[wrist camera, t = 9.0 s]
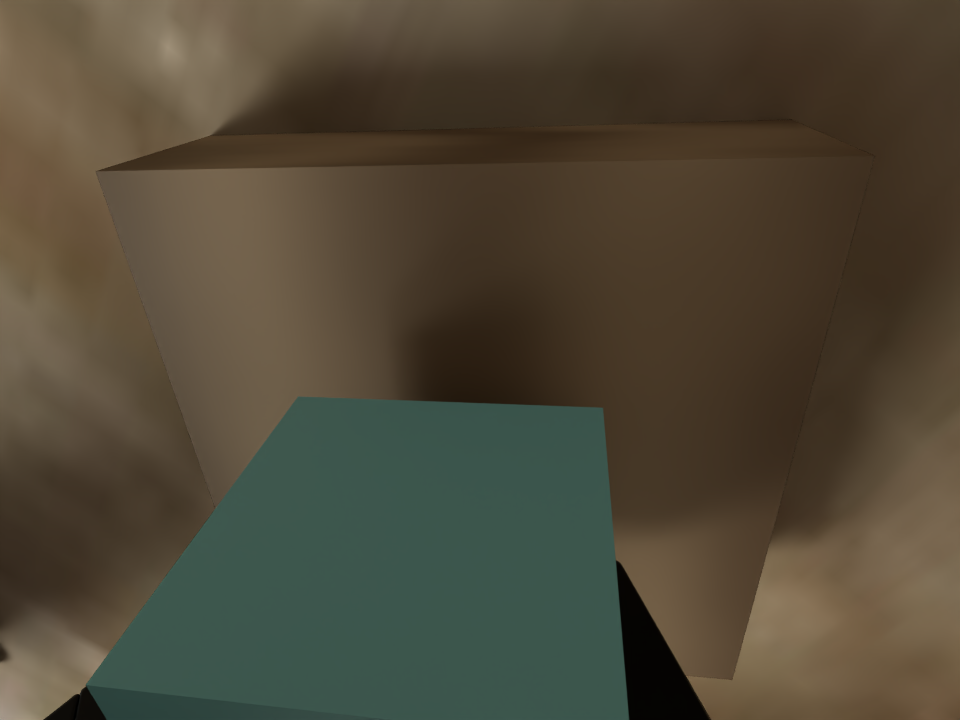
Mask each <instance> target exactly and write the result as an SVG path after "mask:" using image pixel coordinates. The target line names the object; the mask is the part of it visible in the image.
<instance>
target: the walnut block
mask: <svg viewBox="0 0 960 720" xmlns="http://www.w3.org/2000/svg"><path fill="white" fill-rule="evenodd" d="M874 158H875V156H874V155H871V154H869V153H867V152H864V151H862V150H860V149H858V148H855V147H853V146H851V145H848V144H846V143H844V142H842V141H839V140H837V139H835V138H832V137H830V136H828V135H826V134H823V133H821V132H819V131H816V130H814V129H812V128H810V127H807V126H805V125H803V124H800V123H798V122H796V121H794V120H758V121H722V122H686V123H650V124H614V125H578V126H543V127H507V128H471V129H435V130H399V131H363V132H327V133H292V134H256V135H220V136H208V137H205V138H201V139H198V140H195V141H192V142H188V143H185V144H182V145H179V146H176V147H172V148H169V149H166V150H163V151H159V152H156V153H153V154H150V155H147V156H143V157H140V158H137V159H134V160H131V161H127V162H124V163H121V164H118V165H114V166H111V167H108V168H105V169H102V170H98V171H96V174H97V177H98V180H99V182H100V185H101V188H102V191H103V194H104V197H105V199H106V202H107V205H108V208H109V211H110V213H111V216H112V219H113V222H114V225H115V228H116V230H117V233H118V236H119V239H120V242H121V244H122V247H123V250H124V253H125V256H126V259H127V261H128V264H129V267H130V270H131V273H132V275H133V278H134V281H135V284H136V287H137V290H138V292H139V295H140V298H141V301H142V304H143V306H144V309H145V312H146V315H147V318H148V321H149V323H150V326H151V329H152V332H153V335H154V337H155V340H156V343H157V346H158V349H159V352H160V354H161V357H162V360H163V363H164V366H165V368H166V371H167V374H168V377H169V380H170V383H171V385H172V388H173V391H174V394H175V397H176V399H177V402H178V405H179V408H180V411H181V414H182V416H183V419H184V422H185V425H186V428H187V430H188V433H189V436H190V439H191V442H192V445H193V447H194V450H195V453H196V456H197V459H198V461H199V464H200V467H201V470H202V473H203V476H204V478H205V481H206V484H207V487H208V490H209V492H210V495H211V498H212V501H213V504H214V507H215V509H216V507H217V506H218V505H219V503H220V502H221V501H222V499H223V498H224V496H225V495H226V494H227V492H228V491H229V490H230V488H231V487H232V486H233V484H234V483H235V481H236V480H237V479H238V477H239V476H240V475H241V473H242V472H243V471H244V469H245V468H246V467H247V465H248V464H249V462H250V461H251V460H252V458H253V457H254V456H255V454H256V453H257V452H258V450H259V449H260V448H261V446H262V445H263V443H264V442H265V441H266V439H267V438H268V437H269V435H270V434H271V433H272V431H273V430H274V429H275V427H276V426H277V424H278V423H279V422H280V420H281V419H282V418H283V416H284V415H285V414H286V412H287V411H288V409H289V408H290V407H291V405H292V404H293V403H294V401H295V400H296V399H297V397H298V396H299V397H326V398H353V399H380V400H407V401H434V402H462V403H489V404H516V405H543V406H570V407H597V408H603V414H604V426H605V438H606V450H607V462H608V474H609V486H610V498H611V510H612V522H613V534H614V546H615V558H616V561H619V562H620V563H621V564H622V566H623V567H624V569H625V571H626V573H627V574H628V576H629V578H630V580H631V581H632V583H633V585H634V586H635V588H636V590H637V592H638V593H639V595H640V597H641V599H642V600H643V602H644V604H645V606H646V607H647V609H648V611H649V613H650V614H651V616H652V618H653V620H654V621H655V623H656V625H657V627H658V628H659V630H660V632H661V633H662V635H663V637H664V639H665V640H666V642H667V644H668V646H669V647H670V649H671V651H672V653H673V654H674V656H675V658H676V660H677V661H678V663H679V665H680V667H681V668H682V670H683V672H684V674H685V675H686V676H697V677H707V678H717V679H728V680H732V679H733V676H734V672H735V668H736V665H737V661H738V657H739V654H740V650H741V646H742V643H743V639H744V635H745V632H746V628H747V624H748V621H749V617H750V613H751V610H752V606H753V602H754V599H755V595H756V591H757V588H758V584H759V580H760V577H761V573H762V569H763V566H764V562H765V558H766V554H767V551H768V547H769V543H770V540H771V536H772V532H773V529H774V525H775V521H776V518H777V514H778V510H779V507H780V503H781V499H782V496H783V492H784V488H785V485H786V481H787V477H788V474H789V470H790V466H791V463H792V459H793V455H794V452H795V448H796V444H797V441H798V437H799V433H800V430H801V426H802V422H803V418H804V415H805V411H806V407H807V404H808V400H809V396H810V393H811V389H812V385H813V382H814V378H815V374H816V371H817V367H818V363H819V360H820V356H821V352H822V349H823V345H824V341H825V338H826V334H827V330H828V327H829V323H830V319H831V316H832V312H833V308H834V305H835V301H836V297H837V294H838V290H839V286H840V282H841V279H842V275H843V271H844V268H845V264H846V260H847V257H848V253H849V249H850V246H851V242H852V238H853V235H854V231H855V227H856V224H857V220H858V216H859V213H860V209H861V205H862V202H863V198H864V194H865V191H866V187H867V183H868V180H869V176H870V172H871V169H872V165H873V161H874Z"/></svg>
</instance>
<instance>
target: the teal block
mask: <svg viewBox="0 0 960 720" xmlns="http://www.w3.org/2000/svg"><path fill="white" fill-rule="evenodd" d="M86 686H87V688H88V690H89V691H90V693H91V695H92V696H93V698H94V699H95V701H96V703H97V704H98V706H99V708H100V709H101V711H102V712H103V714H104V716H105V717H106V719H107V720H629V714H628V702H627V690H626V678H625V666H624V654H623V642H622V630H621V618H620V606H619V594H618V582H617V570H616V558H615V546H614V534H613V522H612V510H611V498H610V486H609V474H608V462H607V450H606V438H605V426H604V414H603V408H597V407H570V406H543V405H516V404H489V403H462V402H434V401H407V400H380V399H353V398H326V397H299V396H298V397H297V399H296V400H295V401H294V403H293V404H292V405H291V407H290V408H289V409H288V411H287V412H286V414H285V415H284V416H283V418H282V419H281V420H280V422H279V423H278V424H277V426H276V427H275V429H274V430H273V431H272V433H271V434H270V435H269V437H268V438H267V439H266V441H265V442H264V443H263V445H262V446H261V448H260V449H259V450H258V452H257V453H256V454H255V456H254V457H253V458H252V460H251V461H250V462H249V464H248V465H247V467H246V468H245V469H244V471H243V472H242V473H241V475H240V476H239V477H238V479H237V480H236V481H235V483H234V484H233V486H232V487H231V488H230V490H229V491H228V492H227V494H226V495H225V496H224V498H223V499H222V501H221V502H220V503H219V505H218V506H217V507H216V509H215V510H214V511H213V513H212V514H211V515H210V517H209V518H208V520H207V521H206V522H205V524H204V525H203V526H202V528H201V529H200V530H199V532H198V533H197V534H196V536H195V537H194V539H193V540H192V541H191V543H190V544H189V545H188V547H187V548H186V549H185V551H184V552H183V553H182V555H181V556H180V558H179V559H178V560H177V562H176V563H175V564H174V566H173V567H172V568H171V570H170V571H169V573H168V574H167V575H166V577H165V578H164V579H163V581H162V582H161V583H160V585H159V586H158V587H157V589H156V590H155V592H154V593H153V594H152V596H151V597H150V598H149V600H148V601H147V602H146V604H145V605H144V606H143V608H142V609H141V611H140V612H139V613H138V615H137V616H136V617H135V619H134V620H133V621H132V623H131V624H130V625H129V627H128V628H127V630H126V631H125V632H124V634H123V635H122V636H121V638H120V639H119V640H118V642H117V643H116V645H115V646H114V647H113V649H112V650H111V651H110V653H109V654H108V655H107V657H106V658H105V659H104V661H103V662H102V664H101V665H100V666H99V668H98V669H97V670H96V672H95V673H94V674H93V676H92V677H91V678H90V680H89V681H88V683H87V684H86Z"/></svg>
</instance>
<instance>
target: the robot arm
mask: <svg viewBox="0 0 960 720" xmlns="http://www.w3.org/2000/svg"><path fill="white" fill-rule="evenodd" d="M616 570H617V582H618V594H619V606H620V618H621V630H622V642H623V654H624V666H625V678H626V690H627V702H628V714H629V720H711V719H710V717H709V715H708V714H707V712H706V710H705V708H704V707H703V705H702V703H701V701H700V700H699V698H698V696H697V694H696V693H695V691H694V689H693V687H692V686H691V684H690V682H689V680H688V679H687V677H686V675H685V674H684V672H683V670H682V668H681V667H680V665H679V663H678V661H677V660H676V658H675V656H674V654H673V653H672V651H671V649H670V647H669V646H668V644H667V642H666V640H665V639H664V637H663V635H662V633H661V632H660V630H659V628H658V627H657V625H656V623H655V621H654V620H653V618H652V616H651V614H650V613H649V611H648V609H647V607H646V606H645V604H644V602H643V600H642V599H641V597H640V595H639V593H638V592H637V590H636V588H635V586H634V585H633V583H632V581H631V580H630V578H629V576H628V574H627V573H626V571H625V569H624V567H623V566H622V564H621V563H620V562H619V561H616ZM44 720H107V719H106V717H105V716H104V714H103V712H102V711H101V709H100V708H99V706H98V704H97V703H96V701H95V699H94V698H93V696H92V695H91V693H90V691H89V690H88V688H87V686H86V687H85V688H83V689H82V690H81V693H80V694H76V695H74V696H73V697H72V698H70V699H69V700H68V701H67V702H65V703H64V704H63V705H62V706H60V707H59V708H58V709H57V710H55V711H54V712H53V713H51V714H50V715H49V716H48V717H46V718H45V719H44Z"/></svg>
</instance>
